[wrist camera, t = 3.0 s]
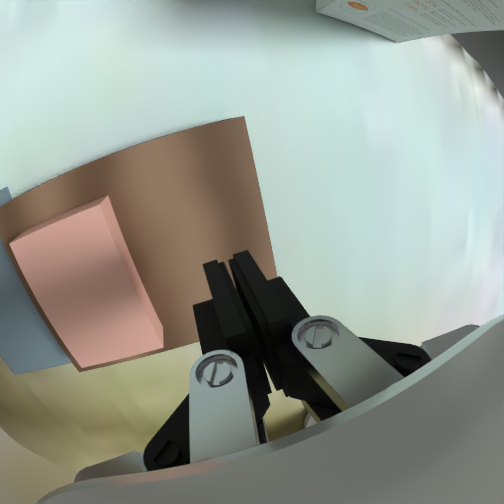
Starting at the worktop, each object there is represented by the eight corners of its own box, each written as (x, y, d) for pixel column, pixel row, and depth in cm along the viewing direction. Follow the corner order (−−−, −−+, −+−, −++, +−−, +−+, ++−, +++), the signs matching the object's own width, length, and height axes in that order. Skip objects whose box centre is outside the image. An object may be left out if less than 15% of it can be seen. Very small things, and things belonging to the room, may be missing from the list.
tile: (108, 195, 14) (99, 204, 12) (163, 327, 18) (163, 347, 16) (23, 231, 13) (9, 243, 11) (86, 348, 17) (81, 367, 15)
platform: (232, 118, 17) (244, 116, 14) (270, 291, 23) (284, 313, 20) (11, 199, 14) (-10, 212, 12) (85, 346, 20) (79, 372, 18)
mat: (7, 186, 14) (4, 187, 14) (91, 355, 21) (90, 358, 20) (-63, 234, 13) (-65, 236, 12) (15, 371, 19) (14, 374, 19)
